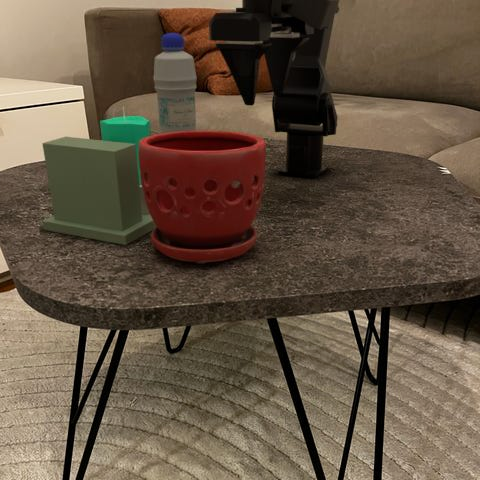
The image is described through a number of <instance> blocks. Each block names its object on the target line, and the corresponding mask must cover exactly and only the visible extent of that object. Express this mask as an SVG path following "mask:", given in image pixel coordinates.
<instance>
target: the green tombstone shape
mask: <svg viewBox="0 0 480 480" xmlns="http://www.w3.org/2000/svg"><path fill="white" fill-rule="evenodd" d="M42 149H43V150H42V151H43V155H44V162H45V168H46V176H47V180H48V186H49V194H50V199H51V205H52V212H53V216H51V217H48V218H46V219H44V220H42V226H43V231H48V232H53V233H59V234H63V235H64V234H65V235H70V236H74V237H80V238H84V239H85V238H86V239H91V240H97V241H101V242H107V243H112V244H119V245H124V246H127V245H129V244H131V243H133V242H134V241H137V240H138V239H140V238H142V237H143V236H145V235H147V234H148V233H150V232H152V231H153V230H154V229H155V228H156V227H157V226H156V224H155V223H154V221H153V219H152V217H151V215H150V213H149V210H148V208H147V205H146V202H145V197H144V192H143V188H142V185H139V176H138V165H137V153H136V144H131V143H121V142H112V141H102V139H91V138H83V137H72V136H62V137H59V138H56V139H53V140H48V141H45V142H42Z"/></svg>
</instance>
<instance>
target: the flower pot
mask: <svg viewBox="0 0 480 480" xmlns="http://www.w3.org/2000/svg"><path fill="white" fill-rule="evenodd" d="M266 161H267V143H266V141H265V140H264V139H263V138H261V137H260V136H256V135H253V134H249V133H244V132H236V131H225V130H224V131H223V130H196V131H181V132H170V133H163V134H160V133H157V134H152V135H151V136H148V137H145V138H143V139H142V140H140V141H139V167H140V175H141V184H142V188H143V192H144V197H145V202H146V205H147V208H148V210H149V213H150V215H151V217H152V219H153V221H154V223H155V224H156V226H157V227H156V228H155V229H154V230H152V231H151V233H150V240H151V243H152V245H153V246H154V248H156V249H157V251H159V252H160V253H162V254H163V255H164V256H167V257H169V258H171V259H175V260H177V261H182V262H188V263H189V262H190V263H196V264H197V265H204V264H206V263H214V262H223V261H226V260H227V261H228V260H231V259H235V258H237V257H240V256H242V255H244V254H245V253H246V252H248V251H249V250H250V249H251V248H252V247H253V246H254V245H255V243H256V240H257V238H258V232H257V230H256V228H255V227H254V226H252V224H253V223H254V220H255V218H256V216H257V215H258V211H259V209H260V206H261V202H262V198H263V192H264V186H265V178H266V165H267V163H266ZM234 182H238V183H239V184H238V186H236V187H235V186H234V184H233V183H234Z"/></svg>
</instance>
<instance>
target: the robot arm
mask: <svg viewBox="0 0 480 480" xmlns="http://www.w3.org/2000/svg"><path fill="white" fill-rule="evenodd" d="M339 3H340V0H241V7H235V11H234V12H232V11H229V12H227V11H226V12H215V14H214V15H213V16H212V17H211V18H210V20H209V21H208V39H209V41H212V42H213V41H215V42H217V43H215V49H218V50H219V52H220V54H221V56H222V58H223V60H224V62H225V64H226V66H227V68H228V69H229V72H230V74H231V77H232V78H233V81H234V82H235V85H236V87H237V90H238V92H239V94H240V96H241V99H242V101H243V103H244V105H245V106H254V105H255V102H256V97H257V88H258V81H259V71H260V63H261V59H262V57H263V56H264V60H265V64H266V68H267V72H268V75H269V76H268V77H269V80H270V86H271V89H272V92H273V95H272V101H271V111H272V117H273V126H274V132H275V133H285V134H286V149H285V150H286V151H285V165H284V166H282V167H280V168H279V169H277V174H281V175H289V176H298V177H305V178H315V179H316V178H318V177H320V176H321V175H322V174H324V173H325V172H326V171H327V170H329V169H330V168H329V167H330V166H329V165H327V164H323V151H324V137H328V136H336V135H337V127H338V120H339V119H338V113H337V110H336V107H335V103H334V99H333V95H332V92H333V87H332V83H331V80H330V79H329V75H328V73H327V70H326V64H327V58H328V53H329V48H330V42H331V37H332V31H333V27H334V21H335V15H336V14H338V13H339V11H340V6H339Z"/></svg>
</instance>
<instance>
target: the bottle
mask: <svg viewBox="0 0 480 480" xmlns="http://www.w3.org/2000/svg"><path fill="white" fill-rule="evenodd" d="M160 43H161V49H162V50H163V51H162V52H161V53H159V54H157V55H156V56H155V57H154V63H153V64H154V65H153V82H154V90H155V92H156V95H157V96H156V97H157V113H158V123H159V124H158V126H159V134H163V133H170V132H181V131H197V117H196V116H197V113H196V95H195V94H196V93H195V92H196V89H197V87H198V86H197V79H198V77H197V73H196V68H195V67H196V66H195V61H194V56H193V55H191V54H190V53H187V52H186V51H184V50H185V39H184V37H183V35H182V34H180V33H177V32H169V33H168V32H167V33H165V34H163V35H162V36H161V42H160Z"/></svg>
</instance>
